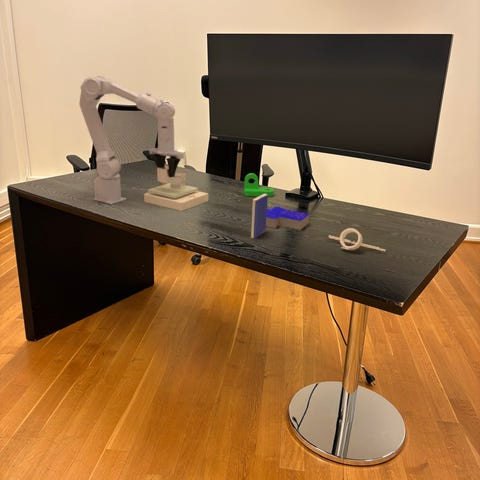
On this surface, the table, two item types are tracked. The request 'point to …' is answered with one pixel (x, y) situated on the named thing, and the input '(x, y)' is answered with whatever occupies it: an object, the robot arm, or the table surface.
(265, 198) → the hard drive
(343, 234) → the beige ring with bar
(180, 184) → the tan brown block
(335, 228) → the table surface
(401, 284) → the table surface
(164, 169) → the tan brown block
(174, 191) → the pan
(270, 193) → the mechanical part
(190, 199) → the scale housing
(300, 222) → the blue beige flat block
